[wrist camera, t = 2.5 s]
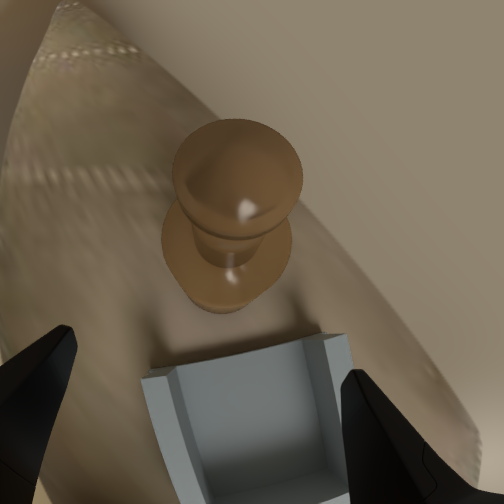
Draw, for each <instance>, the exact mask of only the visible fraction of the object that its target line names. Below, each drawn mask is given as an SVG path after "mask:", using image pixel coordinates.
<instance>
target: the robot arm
mask: <svg viewBox="0 0 504 504" xmlns="http://www.w3.org/2000/svg"><path fill="white" fill-rule="evenodd" d="M77 348H78V345H77V341H76V337H75V334H74V331H73V328H72V327H70V326H67V325H63V324H61V325H59V326H57V327H56V328H54V329H53V330H51V331H50V332H48V333H47V334H46V335H44V336H43V337H41V338H40V339H38V340H37V341H35V342H34V343H32V344H31V345H30V346H28V347H27V348H25V349H24V350H22V351H21V352H20V353H18V354H17V355H15V356H14V357H13V358H11V359H10V360H8V361H7V362H6V363H4V364H3V365H1V366H0V504H32V501H33V497H34V492H35V488H36V487H35V486H36V483H37V479H38V475H39V472H40V468H41V464H42V461H43V457H44V454H45V450H46V447H47V444H48V441H49V437H50V434H51V431H52V428H53V425H54V422H55V419H56V416H57V414H58V411H59V408H60V405H61V402H62V400H63V397H64V394H65V391H66V388H67V385H68V381H69V378H70V374H71V370H72V367H73V363H74V359H75V356H76V353H77ZM340 394H341V427H342V437H343V444H344V452H345V460H346V469H347V477H348V487H349V497H350V504H504V495H503V494H497V493H491V492H486V491H481V490H478V489H476V488H474V487H472V486H471V485H469V484H468V483H467V482H466V481H465V480H464V479H462V478H461V477H460V476H459V475H458V474H457V473H456V472H455V471H454V470H453V469H452V468H451V467H450V466H448V465H447V464H446V463H445V462H444V461H443V460H442V459H441V458H440V457H439V456H438V454H437V453H436V452H435V451H434V450H433V449H432V448H431V447H430V446H429V444H428V443H427V442H426V441H425V440H424V439H423V438H422V436H421V435H420V434H419V433H418V432H417V431H416V429H415V428H414V427H413V426H412V425H411V424H410V423H409V421H408V420H407V419H406V418H405V417H404V416H403V415H402V413H401V412H400V411H399V410H398V409H397V408H396V406H395V405H394V404H393V403H392V402H391V401H390V400H389V398H388V397H387V396H386V395H385V394H384V393H383V392H382V390H381V389H380V388H379V387H378V386H377V385H376V384H375V382H374V381H373V380H372V379H371V378H370V377H369V376H368V374H367V373H366V372H365V371H364V370H362V369H352V370H350V371H349V373H348V374H347V376H346V377H345V379H344V380H343V382H342V384H341V388H340ZM424 441H425V442H424Z"/></svg>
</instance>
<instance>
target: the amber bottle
mask: <svg viewBox="0 0 504 504" xmlns="http://www.w3.org/2000/svg"><path fill="white" fill-rule="evenodd" d="M172 173H173V182H174V187H175V192H176V196H177V200H176V201H175V202H174V203H173V205H172V206H171V208H170V209H169V211H168V213H167V215H166V218H165V221H164V224H163V228H162V238H161V241H162V250H163V255H164V258H165V261H166V263H167V265H168V267H169V269H170V271H171V273H172V274H173V276H174V277H175V279H176V280H177V282H178V283H179V285H180V286H181V287H182V289H183V290H184V292H185V293H186V295H187V296H188V297H189V299H190V300H191V301H192V302H193V303H194V304H195V305H196V306H198V307H199V308H201V309H203V310H205V311H207V312H211V313H216V314H227V313H232V312H235V311H238V310H240V309H242V308H243V307H245V306H246V305H247V304H249V303H250V302H251V301H253V300H254V299H255V298H257V297H258V296H259V295H260V294H262V293H263V292H264V291H266V290H267V289H268V288H269V287H271V286H272V285H273V284H274V283H275V282H276V281H277V280H278V278H279V277H280V276H281V274H282V273H283V271H284V269H285V267H286V265H287V263H288V260H289V257H290V253H291V245H292V236H291V229H290V224H289V222H288V219H287V216H288V215H289V213H290V212H291V210H292V208H293V207H294V205H295V204H296V202H297V200H298V198H299V196H300V193H301V190H302V185H303V172H302V166H301V162H300V159H299V157H298V155H297V153H296V151H295V150H294V148H293V147H292V145H291V144H290V143H289V142H288V141H287V140H286V139H285V138H284V137H283V136H282V135H280V133H278V132H277V131H275V130H273V129H272V128H270V127H268V126H266V125H264V124H261V123H258V122H255V121H251V120H245V119H225V120H219V121H215V122H212V123H209V124H207V125H205V126H203V127H201V128H199V129H197V130H196V131H195V132H193V133H192V134H191V135H190V136H189V137H188V138H187V139H186V140H185V141H184V142H183V143H182V145H181V146H180V148H179V150H178V152H177V154H176V156H175V159H174V163H173V171H172Z"/></svg>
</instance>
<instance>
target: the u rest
mask: <svg viewBox="0 0 504 504" xmlns="http://www.w3.org/2000/svg"><path fill="white" fill-rule="evenodd" d="M352 369H354V366H353V362H352V357H351V352H350V347H349V343H348V338H347V334H327V332H321V333H318V334H314V335H311V336H307V337H303V338H300V339H296V340H292V341H288V342H284V343H280V344H276V345H272V346H268V347H264V348H260V349H255V350H251V351H247V352H242V353H237V354H233V355H228V356H223V357H218V358H213V359H208V360H203V361H197V362H192V363H186V364H180V365H175V366H168V367H162V368H155V369H150V370H149V371H148V372H149V374H148V375H146V376H145V377H143V378H142V379H141V383H142V388H143V391H144V395H145V399H146V403H147V407H148V410H149V414H150V417H151V421H152V424H153V427H154V431H155V434H156V437H157V440H158V443H159V447H160V450H161V453H162V455H163V458H164V461H165V464H166V467H167V470H168V472H169V475H170V478H171V481H172V483H173V486H174V488H175V491H176V493H177V496H178V498H179V501H180V503H181V504H350V497H349V487H348V477H347V469H346V460H345V452H344V444H343V437H342V427H341V394H340V388H341V384H342V382H343V380H344V379H345V377H346V376H347V374H348V373H349V371H350V370H352Z"/></svg>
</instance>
